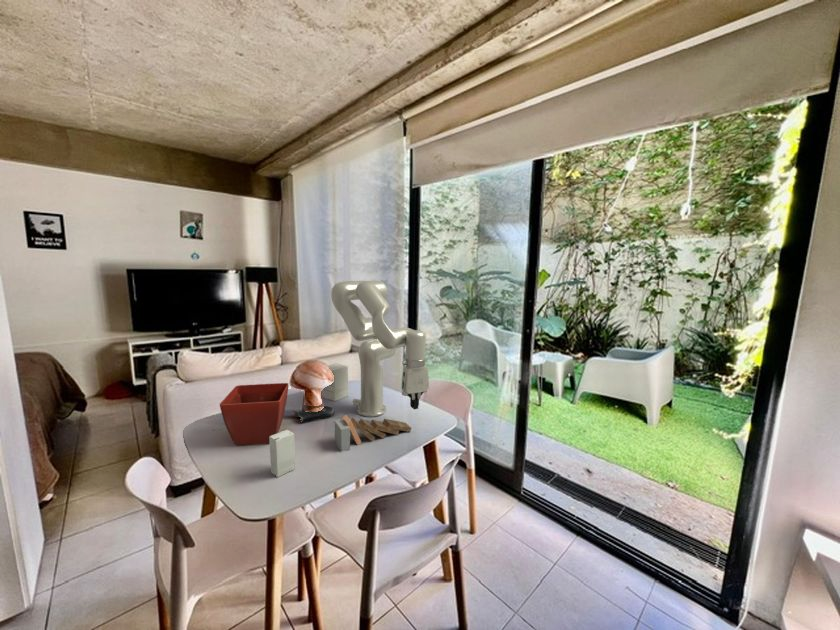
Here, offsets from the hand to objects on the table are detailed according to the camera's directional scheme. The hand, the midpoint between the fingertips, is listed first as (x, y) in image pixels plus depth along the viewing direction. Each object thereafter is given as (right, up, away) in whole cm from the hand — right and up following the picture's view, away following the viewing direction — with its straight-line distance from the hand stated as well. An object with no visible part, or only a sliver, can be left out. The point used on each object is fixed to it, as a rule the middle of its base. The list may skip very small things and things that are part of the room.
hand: (414, 407), depth 135 cm
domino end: (-21, -9, -10) cm, 25 cm away
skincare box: (-40, -12, -29) cm, 51 cm away
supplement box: (-39, -3, +31) cm, 50 cm away
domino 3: (-7, -8, -3) cm, 11 cm away
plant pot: (-57, -8, -8) cm, 59 cm away
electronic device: (-41, -7, +9) cm, 43 cm away
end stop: (-25, -10, -13) cm, 30 cm away
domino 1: (-16, -9, -8) cm, 20 cm away
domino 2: (-12, -8, -6) cm, 16 cm away
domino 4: (-3, -8, 0) cm, 8 cm away
